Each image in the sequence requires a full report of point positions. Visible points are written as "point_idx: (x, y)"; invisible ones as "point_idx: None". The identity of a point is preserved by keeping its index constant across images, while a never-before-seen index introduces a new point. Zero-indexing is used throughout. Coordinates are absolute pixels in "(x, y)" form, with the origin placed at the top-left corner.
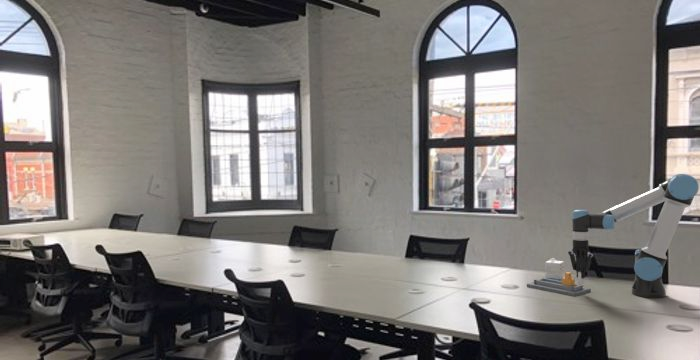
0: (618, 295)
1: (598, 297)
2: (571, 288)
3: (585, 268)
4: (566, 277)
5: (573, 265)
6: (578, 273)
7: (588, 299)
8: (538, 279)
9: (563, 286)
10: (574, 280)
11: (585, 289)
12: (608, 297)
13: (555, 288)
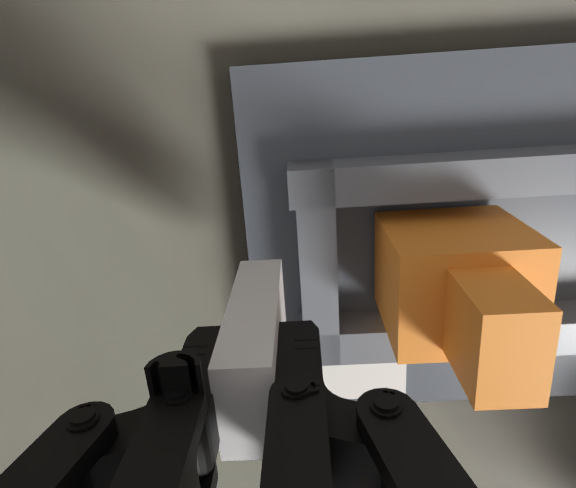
0: (33, 435)
1: (64, 239)
2: (332, 165)
3: (52, 462)
4: (489, 275)
5: (417, 475)
6: (265, 349)
7: (51, 69)
8: None
9: (453, 158)
10: (392, 345)
11: None
12: (19, 312)
13: (540, 108)
